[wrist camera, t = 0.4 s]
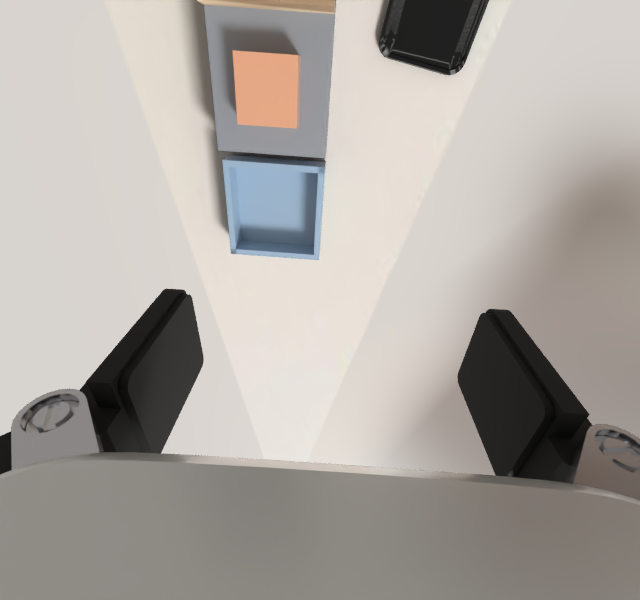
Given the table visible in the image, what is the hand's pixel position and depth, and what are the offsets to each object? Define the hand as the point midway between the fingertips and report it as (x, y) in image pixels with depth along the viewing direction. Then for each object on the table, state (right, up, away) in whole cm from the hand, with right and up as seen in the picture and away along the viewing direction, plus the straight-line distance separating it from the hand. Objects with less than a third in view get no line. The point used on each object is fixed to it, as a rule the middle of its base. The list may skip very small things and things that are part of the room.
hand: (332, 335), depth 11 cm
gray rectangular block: (-4, +23, +20) cm, 30 cm away
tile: (-5, +19, +17) cm, 26 cm away
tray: (-5, +12, +27) cm, 30 cm away
